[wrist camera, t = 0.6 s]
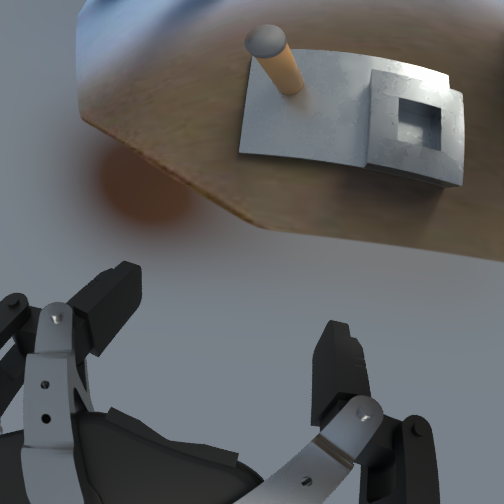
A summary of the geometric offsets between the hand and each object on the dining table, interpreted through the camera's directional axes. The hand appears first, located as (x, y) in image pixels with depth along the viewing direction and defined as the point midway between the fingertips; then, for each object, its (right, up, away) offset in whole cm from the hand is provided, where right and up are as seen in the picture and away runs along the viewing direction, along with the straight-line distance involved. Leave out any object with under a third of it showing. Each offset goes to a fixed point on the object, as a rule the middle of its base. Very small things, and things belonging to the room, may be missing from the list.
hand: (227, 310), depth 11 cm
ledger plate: (+12, +18, +15) cm, 27 cm away
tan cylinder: (+5, +21, +15) cm, 27 cm away
